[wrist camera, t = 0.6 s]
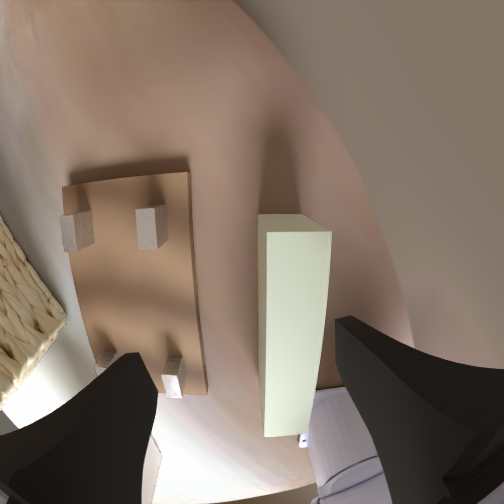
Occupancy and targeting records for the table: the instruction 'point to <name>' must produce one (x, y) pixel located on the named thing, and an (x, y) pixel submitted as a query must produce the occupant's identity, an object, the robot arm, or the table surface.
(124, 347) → the mount plate
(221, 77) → the table surface
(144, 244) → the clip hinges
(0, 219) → the storage basket
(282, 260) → the door panel
